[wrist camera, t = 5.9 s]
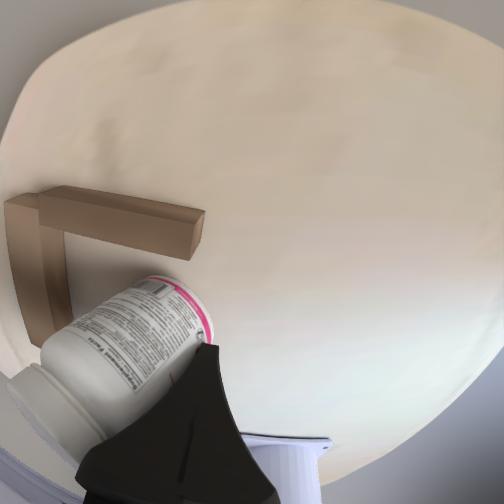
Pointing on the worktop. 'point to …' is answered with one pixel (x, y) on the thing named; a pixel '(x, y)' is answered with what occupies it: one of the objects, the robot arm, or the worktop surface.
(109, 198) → the notched board
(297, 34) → the worktop surface
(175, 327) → the pill bottle
